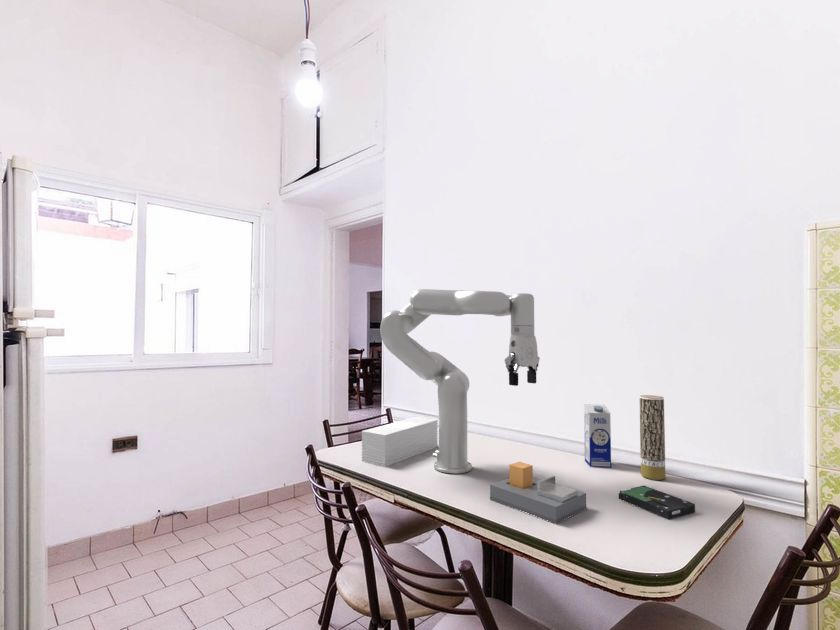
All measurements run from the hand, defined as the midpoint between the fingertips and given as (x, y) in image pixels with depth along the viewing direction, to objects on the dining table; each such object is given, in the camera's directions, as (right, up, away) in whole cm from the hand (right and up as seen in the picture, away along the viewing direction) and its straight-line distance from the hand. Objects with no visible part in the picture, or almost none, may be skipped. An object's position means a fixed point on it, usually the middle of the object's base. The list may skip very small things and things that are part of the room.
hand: (522, 384), depth 142 cm
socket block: (-3, -27, -27) cm, 39 cm away
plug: (-6, -26, -23) cm, 36 cm away
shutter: (+1, -23, -32) cm, 39 cm away
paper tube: (+39, -28, -6) cm, 49 cm away
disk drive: (+28, -28, -28) cm, 48 cm away
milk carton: (+28, -29, +8) cm, 41 cm away
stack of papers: (-40, -30, +21) cm, 54 cm away
